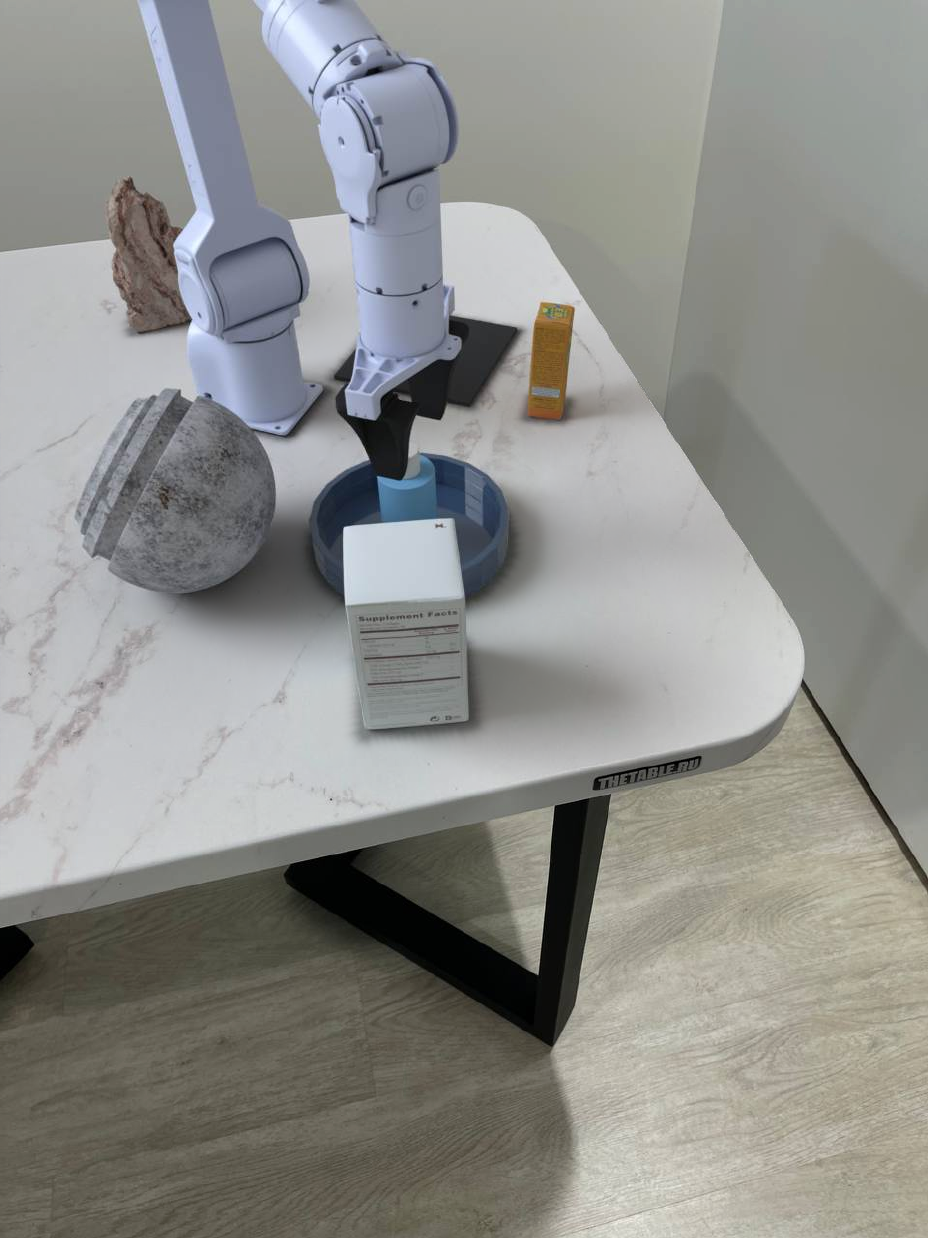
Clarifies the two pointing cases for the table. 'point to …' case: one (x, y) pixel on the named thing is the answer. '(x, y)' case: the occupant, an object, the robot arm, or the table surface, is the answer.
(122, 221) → the stone
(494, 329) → the mat
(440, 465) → the bowl
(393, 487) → the bottle
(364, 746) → the table surface
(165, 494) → the decorative orb
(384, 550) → the white packaging box
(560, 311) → the supplement box
